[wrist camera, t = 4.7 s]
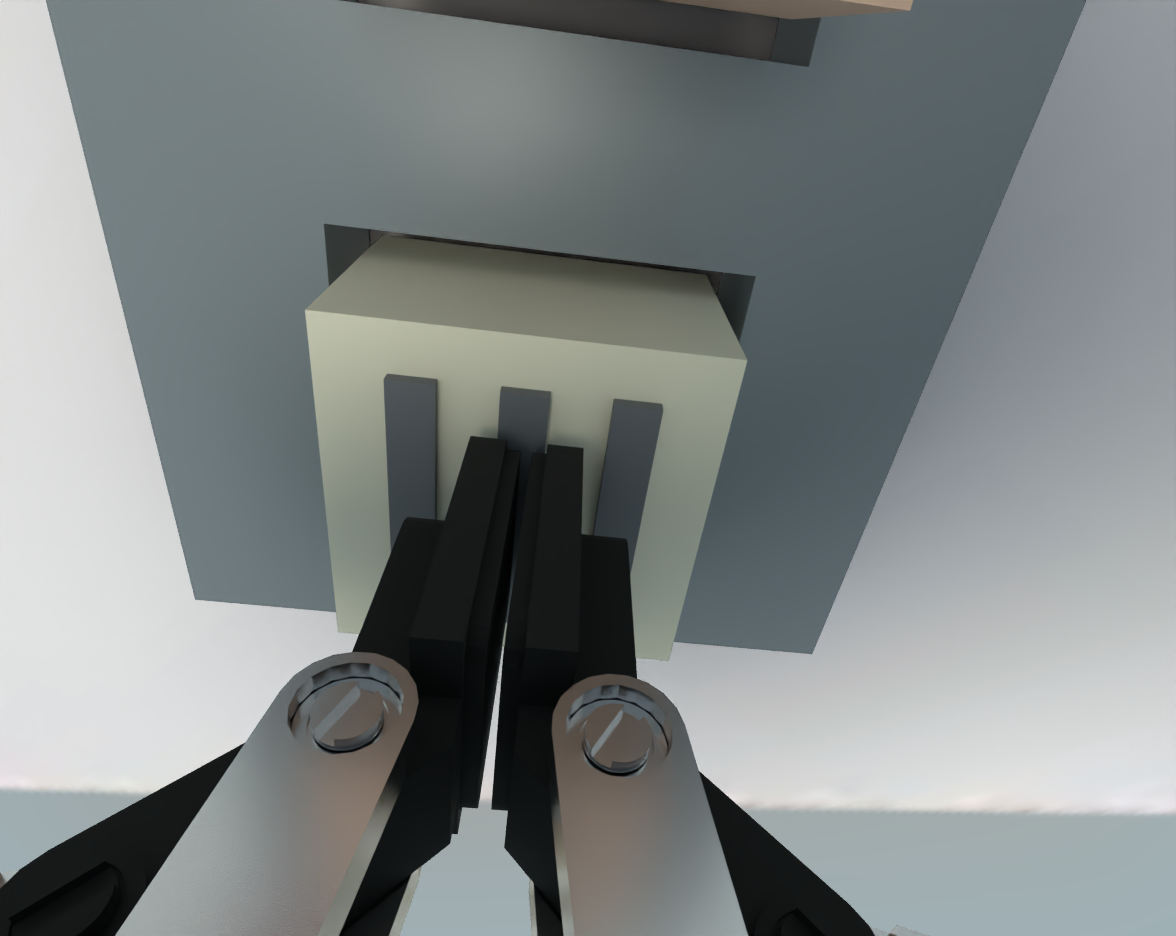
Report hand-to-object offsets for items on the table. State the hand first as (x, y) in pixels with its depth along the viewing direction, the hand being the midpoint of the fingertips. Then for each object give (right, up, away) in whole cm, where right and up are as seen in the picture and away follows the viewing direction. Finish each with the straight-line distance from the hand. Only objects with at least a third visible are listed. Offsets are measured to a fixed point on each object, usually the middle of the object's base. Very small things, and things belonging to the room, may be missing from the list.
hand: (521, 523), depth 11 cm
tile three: (0, +2, +4) cm, 4 cm away
